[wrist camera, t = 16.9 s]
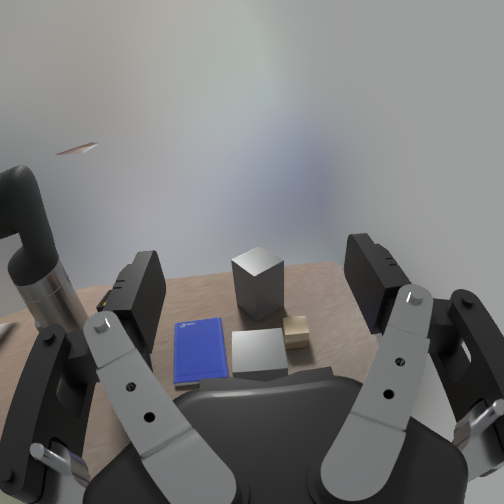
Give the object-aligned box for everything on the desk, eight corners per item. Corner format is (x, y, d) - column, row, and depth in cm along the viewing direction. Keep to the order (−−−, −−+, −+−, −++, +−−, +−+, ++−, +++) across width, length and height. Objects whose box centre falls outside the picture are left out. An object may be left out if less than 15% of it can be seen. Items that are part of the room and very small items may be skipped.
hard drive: (174, 322, 48) (173, 382, 38) (220, 316, 49) (228, 376, 39) (176, 328, 49) (176, 388, 39) (222, 322, 50) (230, 381, 40)
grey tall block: (257, 322, 49) (254, 276, 44) (237, 304, 53) (231, 259, 48) (283, 306, 52) (283, 260, 46) (262, 290, 56) (259, 245, 50)
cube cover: (285, 407, 35) (288, 367, 30) (241, 410, 35) (232, 372, 30) (281, 372, 40) (281, 327, 35) (240, 375, 40) (232, 331, 35)
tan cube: (308, 347, 44) (309, 332, 42) (284, 349, 44) (285, 334, 42) (304, 330, 47) (306, 315, 45) (282, 332, 47) (282, 317, 45)
